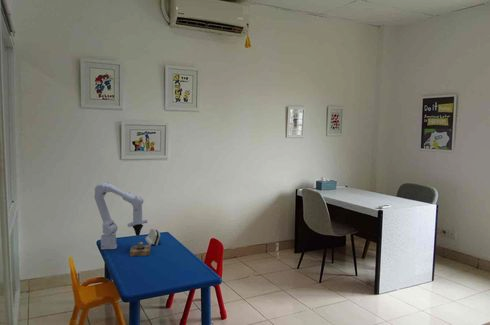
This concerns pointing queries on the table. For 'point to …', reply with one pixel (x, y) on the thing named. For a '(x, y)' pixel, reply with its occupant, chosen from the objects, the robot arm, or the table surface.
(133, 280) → the table surface
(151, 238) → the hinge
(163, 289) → the table surface
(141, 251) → the block
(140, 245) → the pin
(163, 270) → the table surface
